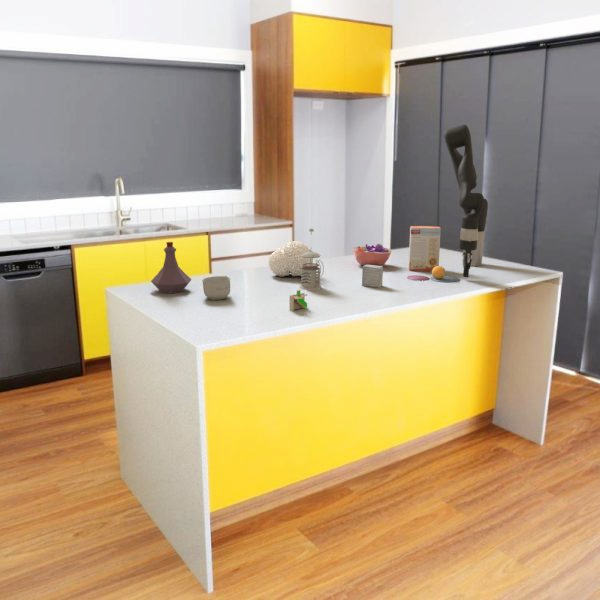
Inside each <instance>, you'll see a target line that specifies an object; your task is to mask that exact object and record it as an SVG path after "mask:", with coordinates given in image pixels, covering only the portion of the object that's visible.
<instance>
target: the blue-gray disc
mask: <svg viewBox="0 0 600 600" xmlns="http://www.w3.org/2000/svg"><path fill="white" fill-rule="evenodd" d="M429 280H431V281H433V282H438V283H446V284H447V283H459V282H460V280H461V279H460V278H459V277H455V276H451V275H445V276H444V277H443V278H442V279H436V278H434V277H433V276H431V277H429Z"/></svg>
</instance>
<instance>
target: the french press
mask: <svg viewBox="0 0 600 600" xmlns="http://www.w3.org/2000/svg"><path fill="white" fill-rule="evenodd" d="M308 232H310V234H312V232H314V229H313V228H309V229H308ZM301 256H302V257H304V258H313V259H316V260H315V263H314V262H313V263H305V264H303V266H304V267H302V268H301V274H302V275H301V276H300V277H301V278H300V279H301V284H300V285H299V286H298V288H299V289H300V290H301V289H302V290H306V291H317V290H322V288H323V287H322V286H321V277H322V276H323V275H324V272H325V270H324V269H325V267H324V263H323V261H321V259H319V260H318V258H320V257H321V254H320V253H318V252H317V251H316V252H315V251H312V250H310V252H305V253H304V254H302V255H301ZM320 263H321V264H320ZM321 265H322V266H321Z"/></svg>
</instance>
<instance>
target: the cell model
mask: <svg viewBox="0 0 600 600" xmlns="http://www.w3.org/2000/svg"><path fill="white" fill-rule="evenodd" d="M352 252H353V254H354V257H355V260H356V262H357V263H358V265H359V264H360V265H362V266H364V265H375V266H384V265H385V264H386V263H387V261H388V260H389V258H390V256H391V254H392V252H393V251H392V250H391V249H390V248H388V247H384V246H383V245H382V244H380V243H376V245H373V244H372V245H368V244H365V246H364V245H363V246H360V245H359V246H356V247H353V248H352Z"/></svg>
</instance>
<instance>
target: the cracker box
mask: <svg viewBox="0 0 600 600" xmlns="http://www.w3.org/2000/svg"><path fill="white" fill-rule="evenodd" d="M441 233H442V228H441V227H440V226H430V225H429V226H427V225H425V226H424V225H411V226H410V228H409V247H408V248H409V250H408V251H409V252H408V253H409V254H408V270H409V271H410V272H411V271H415V272H420V271H421V272H422V271H423V272H432V270H433V268H434V267H436V266H440V250H441V249H440V248H441V235H442V234H441Z"/></svg>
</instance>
